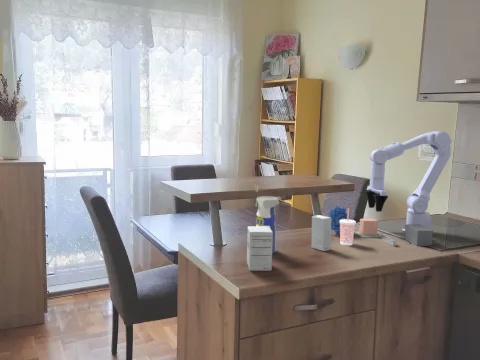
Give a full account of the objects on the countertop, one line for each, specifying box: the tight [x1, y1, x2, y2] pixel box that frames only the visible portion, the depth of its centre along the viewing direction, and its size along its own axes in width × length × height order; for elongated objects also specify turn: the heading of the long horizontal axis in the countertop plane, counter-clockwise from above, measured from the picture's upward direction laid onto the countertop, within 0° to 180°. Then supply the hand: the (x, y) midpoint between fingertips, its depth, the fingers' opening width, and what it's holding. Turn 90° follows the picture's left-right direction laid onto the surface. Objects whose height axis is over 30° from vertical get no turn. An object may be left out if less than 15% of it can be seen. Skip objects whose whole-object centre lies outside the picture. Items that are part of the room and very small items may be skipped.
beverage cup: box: [339, 207, 357, 246], centre depth 173 cm, size 6×6×14 cm
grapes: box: [328, 205, 351, 235], centre depth 188 cm, size 12×7×12 cm, turn 117°
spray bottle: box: [253, 182, 280, 254], centre depth 161 cm, size 8×9×25 cm
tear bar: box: [381, 233, 397, 247], centre depth 177 cm, size 1×10×2 cm, turn 7°
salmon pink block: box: [358, 218, 378, 235], centre depth 188 cm, size 6×4×6 cm, turn 97°
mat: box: [354, 230, 382, 239], centre depth 189 cm, size 9×9×1 cm
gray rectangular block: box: [403, 224, 434, 247], centre depth 178 cm, size 6×10×6 cm, turn 7°
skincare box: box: [311, 214, 332, 252], centre depth 166 cm, size 6×4×12 cm
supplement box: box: [246, 225, 273, 272], centre depth 145 cm, size 7×7×13 cm
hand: (375, 209), depth 194 cm, fingers open, 7 cm apart
